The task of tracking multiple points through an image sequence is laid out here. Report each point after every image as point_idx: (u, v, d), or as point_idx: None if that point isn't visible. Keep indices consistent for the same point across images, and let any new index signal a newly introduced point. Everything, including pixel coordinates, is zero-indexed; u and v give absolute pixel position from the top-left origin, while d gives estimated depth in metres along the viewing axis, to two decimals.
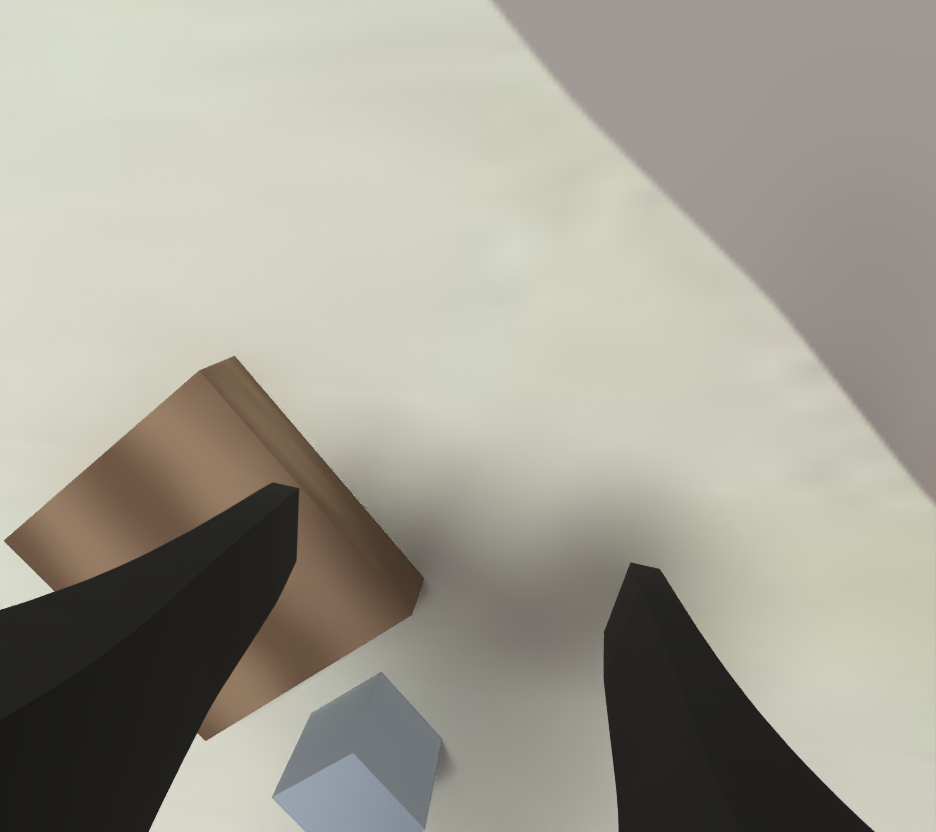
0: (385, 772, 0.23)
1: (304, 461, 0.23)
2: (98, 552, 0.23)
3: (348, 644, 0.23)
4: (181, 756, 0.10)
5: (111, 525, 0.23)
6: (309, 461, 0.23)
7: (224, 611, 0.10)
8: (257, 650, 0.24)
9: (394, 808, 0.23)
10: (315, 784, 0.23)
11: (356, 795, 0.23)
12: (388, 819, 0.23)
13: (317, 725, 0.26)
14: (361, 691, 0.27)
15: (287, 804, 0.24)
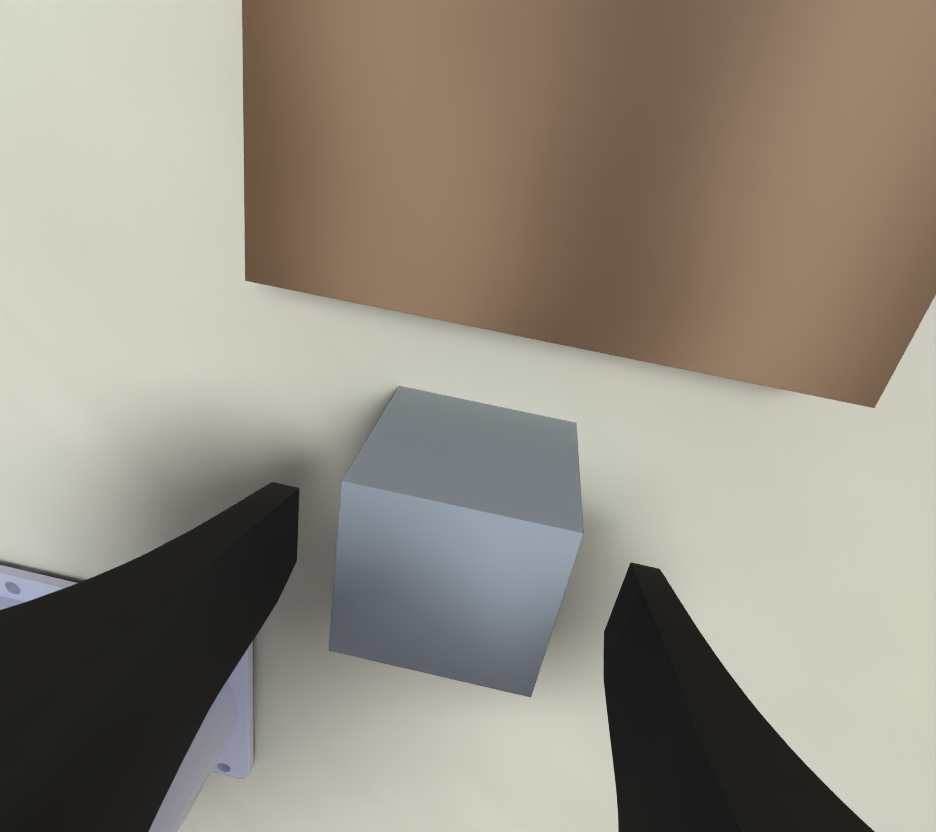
0: None
1: None
2: None
3: (713, 357, 0.11)
4: (182, 756, 0.10)
5: None
6: None
7: (224, 611, 0.10)
8: (549, 216, 0.10)
9: (526, 646, 0.12)
10: (449, 522, 0.11)
11: (494, 588, 0.11)
12: (496, 650, 0.12)
13: (431, 417, 0.13)
14: (535, 426, 0.14)
15: (357, 510, 0.11)
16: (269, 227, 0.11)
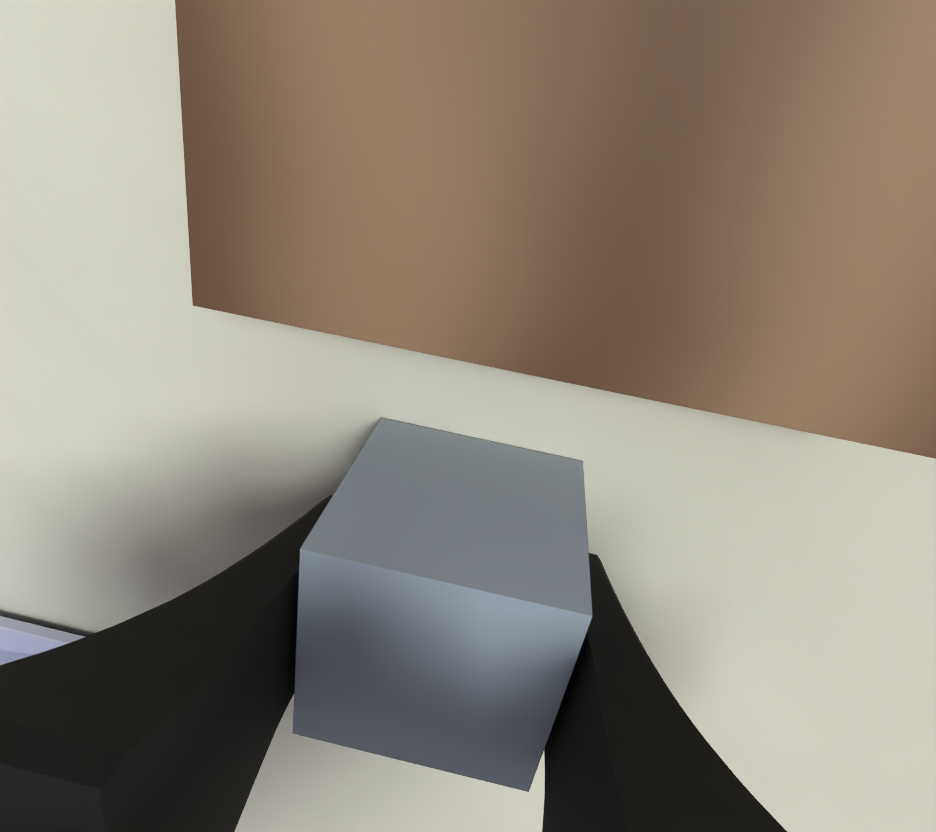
0: None
1: None
2: None
3: (749, 399, 0.09)
4: (255, 774, 0.10)
5: None
6: None
7: (295, 628, 0.10)
8: (553, 231, 0.08)
9: (523, 737, 0.10)
10: (430, 599, 0.09)
11: (485, 673, 0.10)
12: (487, 740, 0.10)
13: (414, 460, 0.12)
14: (535, 468, 0.12)
15: (320, 583, 0.09)
16: (218, 243, 0.09)
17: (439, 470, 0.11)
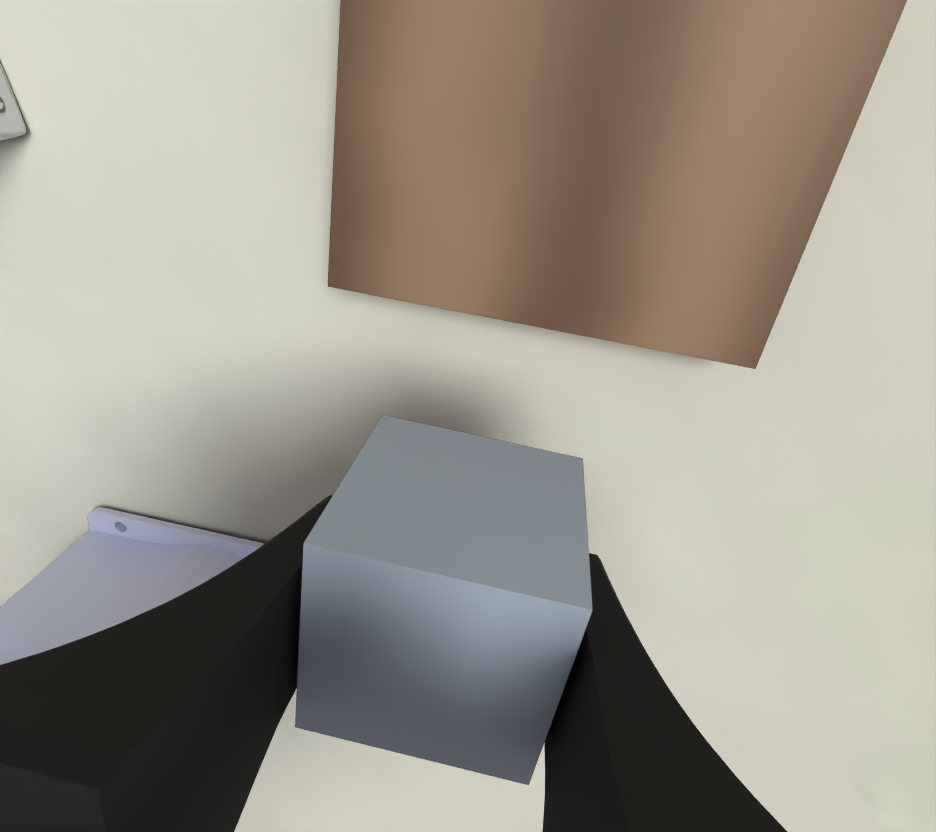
0: None
1: None
2: None
3: (646, 335, 0.16)
4: (254, 775, 0.10)
5: None
6: None
7: (294, 628, 0.10)
8: (534, 242, 0.15)
9: (523, 729, 0.10)
10: (432, 593, 0.09)
11: (486, 667, 0.10)
12: (488, 733, 0.10)
13: (416, 456, 0.12)
14: (536, 464, 0.12)
15: (324, 576, 0.09)
16: (346, 250, 0.16)
17: (441, 466, 0.12)
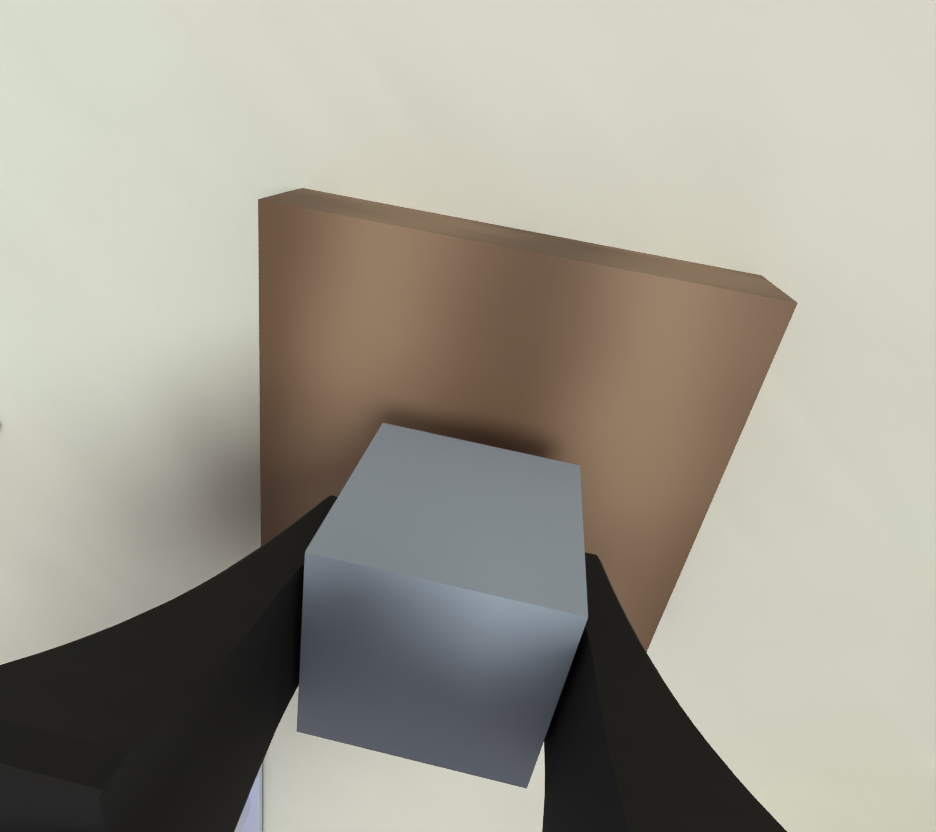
0: None
1: None
2: (380, 339, 0.14)
3: None
4: (255, 775, 0.10)
5: (439, 331, 0.14)
6: None
7: (295, 628, 0.10)
8: None
9: (521, 734, 0.10)
10: (431, 601, 0.09)
11: (484, 673, 0.10)
12: (486, 738, 0.11)
13: (415, 464, 0.12)
14: (533, 471, 0.12)
15: (325, 584, 0.09)
16: None
17: (439, 474, 0.12)
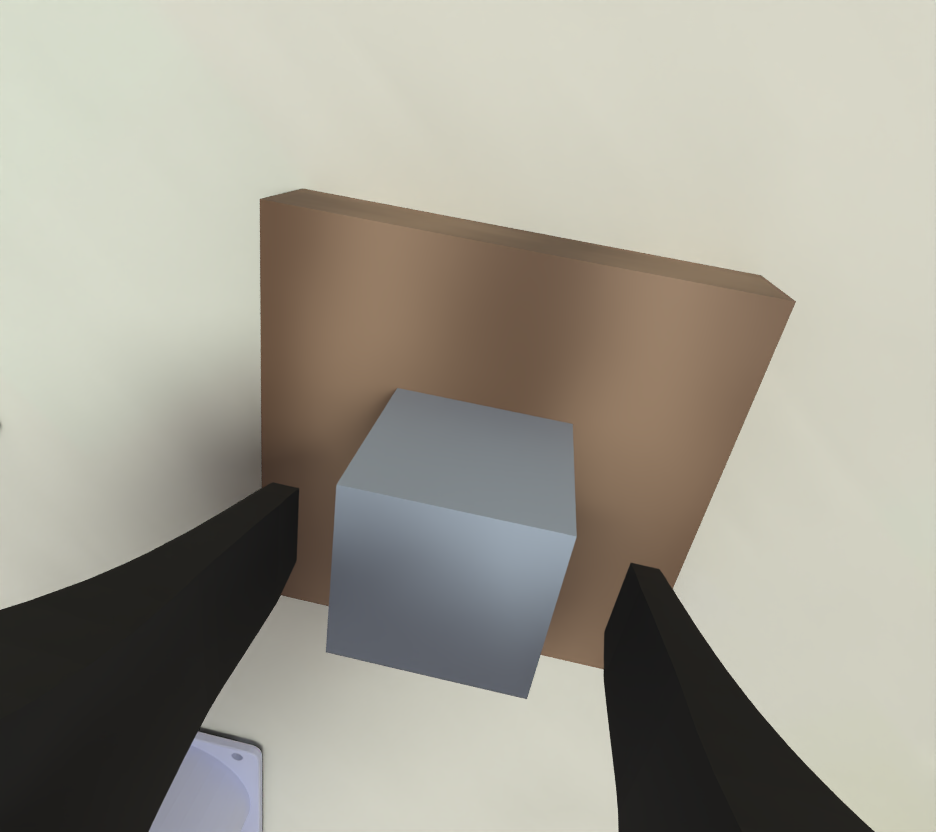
0: None
1: None
2: (381, 339, 0.14)
3: None
4: (181, 756, 0.10)
5: (440, 330, 0.14)
6: None
7: (224, 611, 0.10)
8: None
9: (521, 647, 0.12)
10: (443, 525, 0.11)
11: (489, 590, 0.11)
12: (491, 652, 0.12)
13: (427, 421, 0.14)
14: (531, 428, 0.14)
15: (352, 513, 0.11)
16: None
17: (448, 429, 0.13)
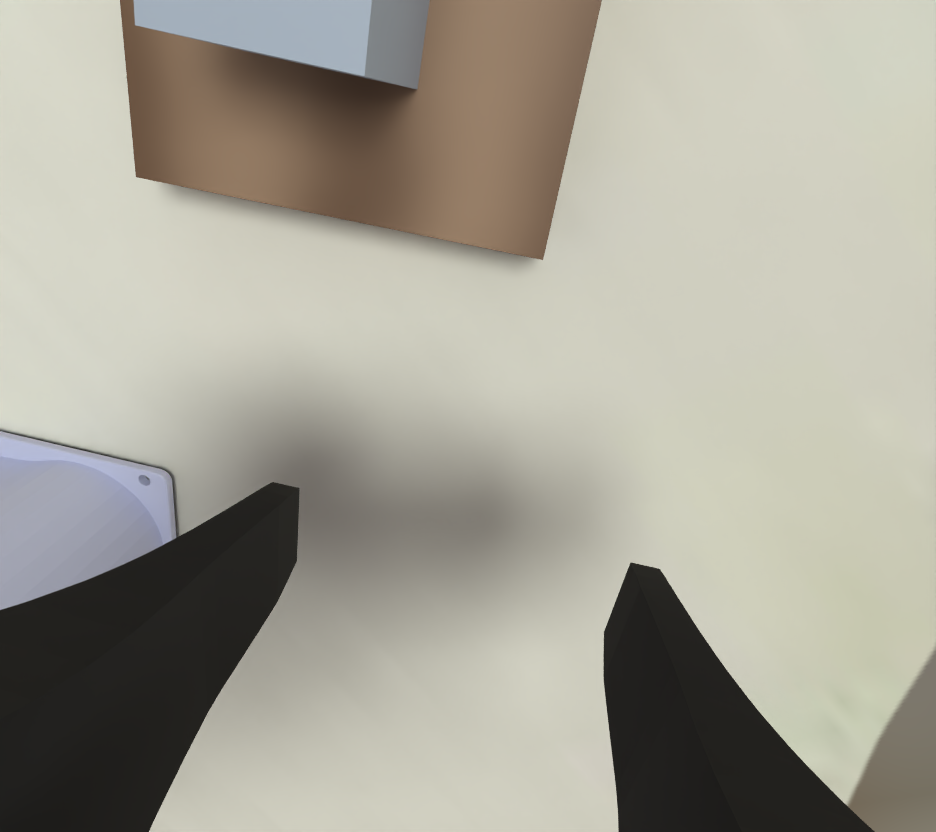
0: None
1: None
2: None
3: (437, 225, 0.16)
4: (182, 756, 0.10)
5: None
6: None
7: (224, 611, 0.10)
8: (321, 129, 0.16)
9: None
10: None
11: None
12: None
13: None
14: None
15: None
16: (148, 139, 0.16)
17: None
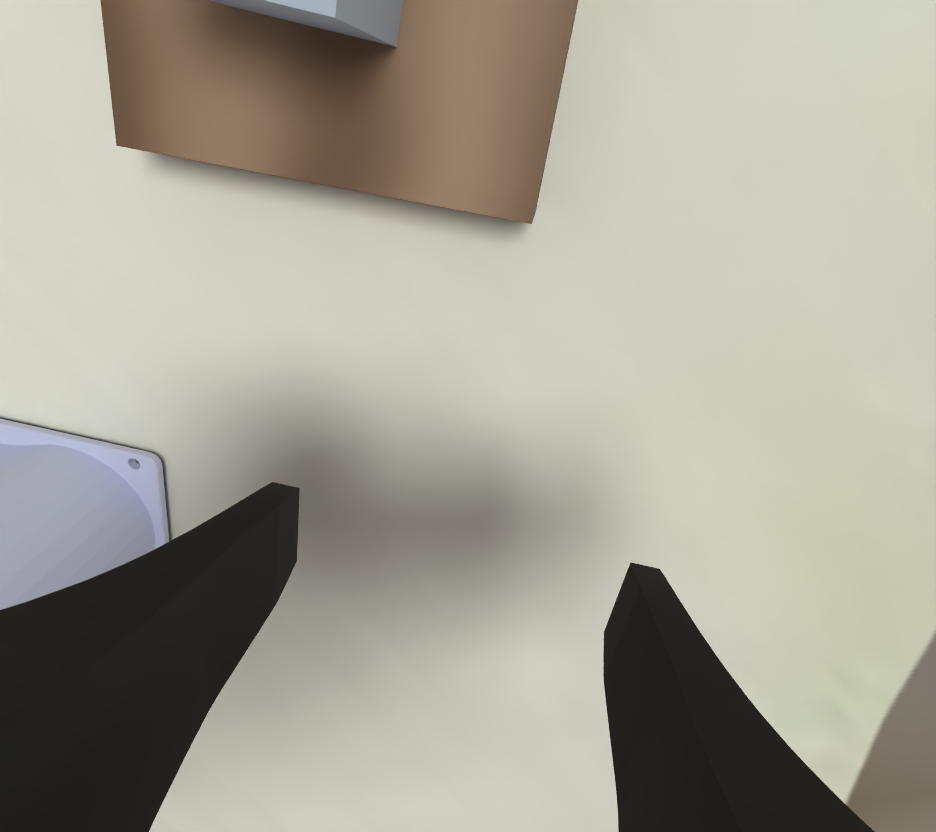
0: None
1: None
2: None
3: (423, 190, 0.16)
4: (181, 756, 0.10)
5: None
6: None
7: (224, 611, 0.10)
8: (303, 91, 0.15)
9: None
10: None
11: None
12: None
13: None
14: None
15: None
16: (128, 105, 0.16)
17: None
